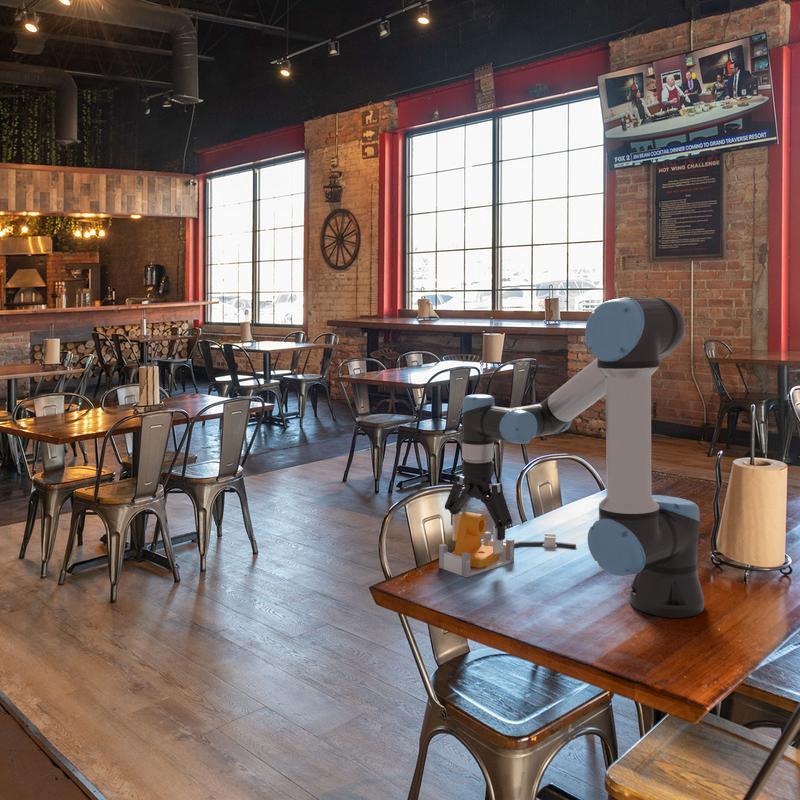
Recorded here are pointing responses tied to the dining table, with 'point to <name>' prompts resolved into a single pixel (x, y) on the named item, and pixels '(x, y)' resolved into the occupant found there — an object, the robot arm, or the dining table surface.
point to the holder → (463, 563)
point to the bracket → (474, 540)
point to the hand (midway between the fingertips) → (477, 545)
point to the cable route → (545, 542)
